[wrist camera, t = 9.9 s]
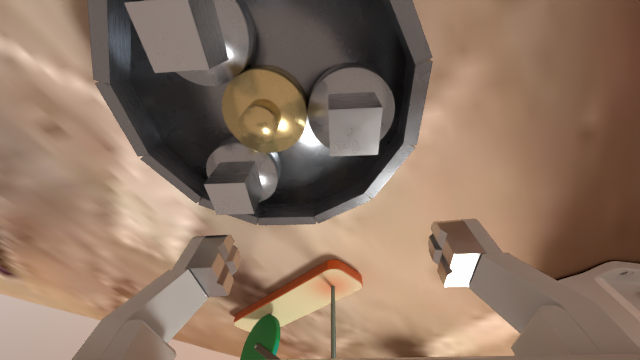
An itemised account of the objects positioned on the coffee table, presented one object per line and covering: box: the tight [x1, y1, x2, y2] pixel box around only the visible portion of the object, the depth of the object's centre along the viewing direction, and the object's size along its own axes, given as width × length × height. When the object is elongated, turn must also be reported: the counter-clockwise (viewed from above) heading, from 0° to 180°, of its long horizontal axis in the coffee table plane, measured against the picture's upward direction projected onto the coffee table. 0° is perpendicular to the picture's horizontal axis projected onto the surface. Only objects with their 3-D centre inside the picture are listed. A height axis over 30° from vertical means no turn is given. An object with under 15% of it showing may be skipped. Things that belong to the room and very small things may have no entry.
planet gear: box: [308, 62, 395, 156], centre depth 16 cm, size 6×6×5 cm
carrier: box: [87, 0, 433, 225], centre depth 17 cm, size 22×22×6 cm
